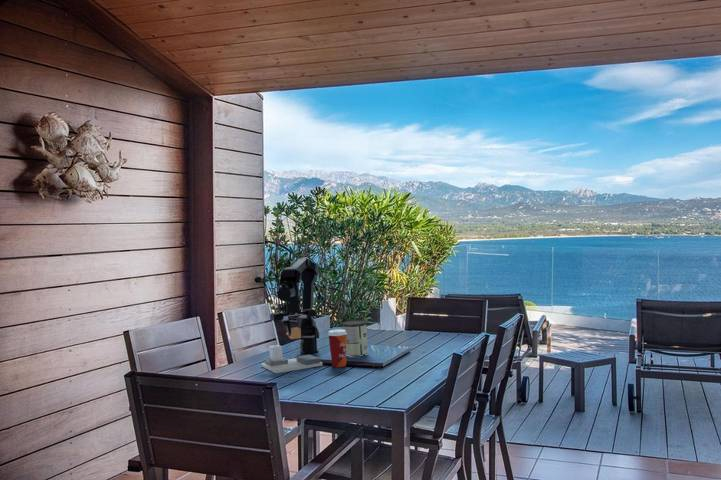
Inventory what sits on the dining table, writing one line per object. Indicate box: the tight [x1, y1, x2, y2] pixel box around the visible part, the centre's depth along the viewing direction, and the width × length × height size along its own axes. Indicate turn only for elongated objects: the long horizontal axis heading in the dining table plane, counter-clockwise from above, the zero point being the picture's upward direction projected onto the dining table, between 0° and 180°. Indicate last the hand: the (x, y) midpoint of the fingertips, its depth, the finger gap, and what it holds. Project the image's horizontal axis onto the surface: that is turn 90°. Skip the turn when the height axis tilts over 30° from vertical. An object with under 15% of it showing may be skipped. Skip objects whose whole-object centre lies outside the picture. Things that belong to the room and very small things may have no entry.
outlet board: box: [261, 357, 324, 374], centre depth 273 cm, size 20×16×3 cm
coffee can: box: [341, 319, 369, 356], centre depth 288 cm, size 10×10×14 cm
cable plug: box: [285, 326, 301, 340], centre depth 284 cm, size 4×12×4 cm, turn 26°
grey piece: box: [296, 354, 321, 365], centre depth 273 cm, size 6×10×2 cm, turn 28°
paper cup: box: [327, 328, 347, 368], centre depth 269 cm, size 8×8×14 cm
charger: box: [268, 344, 284, 362], centre depth 274 cm, size 4×4×7 cm
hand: (294, 335), depth 281 cm, fingers closed on cable plug, 4 cm apart
